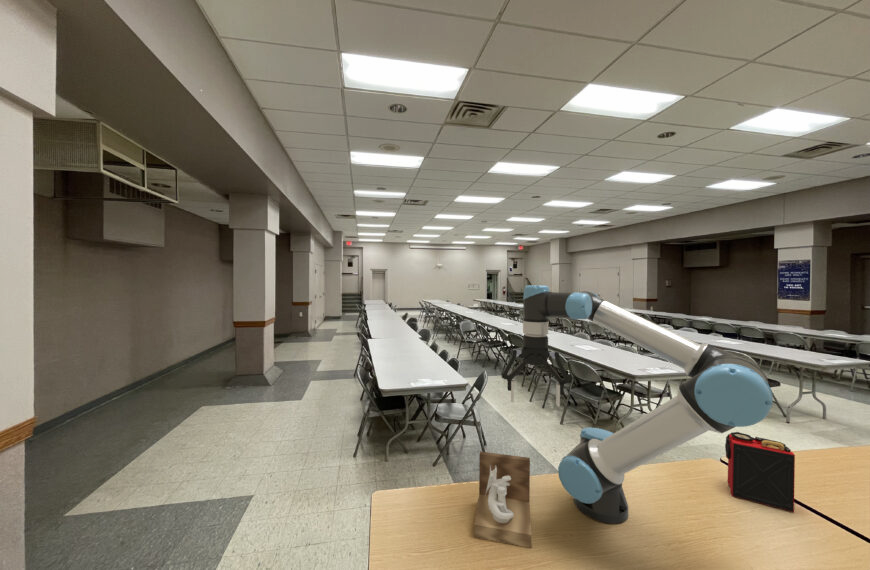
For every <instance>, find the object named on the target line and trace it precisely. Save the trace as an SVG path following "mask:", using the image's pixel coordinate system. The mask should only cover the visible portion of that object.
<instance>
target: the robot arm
mask: <svg viewBox="0 0 870 570" xmlns="http://www.w3.org/2000/svg"><path fill="white" fill-rule="evenodd" d="M523 288H524V289H523V296H522V297H523V298H522V301H523V307H522V308H523V318H522V333H523V334H524V335H522V349H517V348H513V349H512V353H511V357H510V359H509V361H508V362H507V364H506V366H505V367H504V370H503V371H502V373H501V378H502V379H505V380H506V381H507V385H506V387H507V391H508V392H509V391H510V392H511V393H510V403H514V400H515V399H514V396H515V395H514V389H515V388H514V386H515V383H514V382H515V377H516V376H517V374H519V372H520V371H522V370H523V369H524V367H526V366H527V365H528V364H529V365H530V366H539V367H540V366H542V365H543V366H544V367H545V368H546V369H547V370H548V371H549V373H550V374H551V375H552V376H553V377H554V378H555V380H556V381H557V382H556V383H555V385H556V387H555V392H556V393H555V404H556V407H559V408H560V405H561V396H563V395H564V394H565V391H564V390H565V387H564V386H565V385H566V384H570V383H571V380H570V377H569V376H568V373H567V371H566V369H565V368H564V365H563V364H562V361H561V359H560V352H559V351H558V350H554V351H549V336H548V334H549V318H559V319H560V318H561V319H569V320H570V319H571V320H574V321H575V320H589V321H590V322H593V323H595V324H597V325H599V326H601V327H603V328H604V329H606V330H608V331H610V332H611V333H614V334H616V335H618V336H619V337H621V338H623V339H625V340H628V341H629V342H632V343H633V344H636V345H637V346H639V347H641V348H643V349H644V350H646V351H649V353H653V354H654V355H657V356H658V357H660V358H661V359H664V360H666V361H668V362H669V363H672V364H673V365H675V366H677V367H680V368H681V369H683V370H684V372H685V374H686V376H688V377H689V379H687V380H685V381H684V382H682V383H681V384H679V385H677V393H676V394H677V395H676V396H674V397H673V398H671V399H669V400H667V401H665V402H664V403H663V404H661V405H659V406H657V407H656V408H654V409H652V410H651V411H649V412H647V413H646V414H643V415H642V416H641V417H638V419H636V420H634V421H633V422H631V423H629V424H627V425H626V426H624V427H622V428H620V429H619V430H617V431H616V432H612V431H609V430H606V429H603V428H596V427H584V428H582V429H581V430H580V434H579V437H580V441H579V443H577V445H576V446H575V447H574V448H572V450H571V451H570V452H568V453H567V454H566V455H565V456H564V457H562V458H561V461H560V462H559V464H558V466H557V467H558V468H557V469H558V472H557V473H558V479H559V481H560V483H561V485H562V487H563V488H564V490H565V491H566V492H567V493H568V495H570V497H572V498H573V502H574V505H575V507H576V508H577V509H578V510H579V511H580V512H581V513H583V514H584V515H585V516H586V517H589V518H590V519H593V520H595V521H598V522H601V523H606V524H621V523H624V522H625V521H627V520H628V518H629V504H628V500H627V498H626V495H625V491H624V489H623V483H624V481H625V474H626V473H629V472H631V471H632V470H635V469H636V468H638V467H640V466H642V465H645V464H646V463H648V462H651V461H652V460H654V459H656V458H657V457H659V456H662V455H663V454H666V453H667V452H668V453H669V451H672V450H674V449H675V448H677V447H680V446H682V445H683V444H686V443H687V442H689V441H691V440H693V439H695V438H697V437H699V436H701V435H703V434H705V433H706V432H709V431H711V432H713V433H718V434H724V433H726V432H728V431H730V430H732V429H734V428H742V427H743V428H744V427H751V426H754V425H756V424H758V423H760V422H762V421H763V420H764V419H765V418H766V417H767V416H768V415H769V414H770V411H771V409H772V407H773V401H774V398H773V397H774V395H773V392H772V389H771V387H770V384H769V383H770V382H769V380H768V377H767V376H766V374H765V373H764V372H763V370H762V369H761V368H760V367H759V366H757V364H755V363H753V362H752V361H750V360H748V359H746V358H744V357H741V356H739V355H735V354H733V353H731V352H728V351H726V350H724V349H720V348H718V347H716V346H713V345H712V344H709V343H702V344H700V343H698V342H695V341H693V340H691V339H689V338H686V337H685V336H683V335H680V334H678V333H675V332H674V331H672V330H670V329H667V328H665V327H663V326H661V325H659V324H657V323H655V322H653V321H650V320H648V319H646V318H643V317H641V316H640V315H637V314H636V313H633V312H631V311H629V310H626V309H624V308H622V307H620V306H618V305H616V304H614V303H612V302H609V301H607V300H604V299H602V298H600V296H599V295H597V294H596V293H594V292H591V291H589V290H588V291H586V290H584V291H575V292H574V291H570V292H565V291H564V292H563V291H562V292H559V291H558V292H555V291H550V287H549V286H548V285H540V284H539V285H538V284H537V285H534V284H533V285H529V284H527V285H525V286H524V287H523ZM520 355H521V356H522V358H523V359H521V361H520V362H519V363H518V364H517V366H516V367H515V368H514V369H513V370H512V371H511V372H510V370H511V368H512V366H513V364H514V363H515V360H516V359H517V357H519V356H520ZM550 357H551V358H552V359H553V360H554V361H555V362H556V364H557V366H558V368H559V370H560V373H561V374H562V376H563V378H562V377H561V376H560V375H559V374H558V372H557V371H556V370H555V369H554V368H553V367H552V365H551V364H550V363H549V362H548V361H547V360H548V359H549V358H550ZM509 372H510V373H509Z"/></svg>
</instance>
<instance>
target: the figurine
mask: <svg viewBox="0 0 870 570" xmlns="http://www.w3.org/2000/svg"><path fill="white" fill-rule="evenodd" d="M496 473H497V468H496V465H495V469H494V470H493V471H491V467H490V476H489V480H488V485H487V490H488V489H489V488H490V487H491V488H490V490H489V495H488V496H489V497H488V506H489V510H491V513H492V514H493V518H494V520H495V521H497V522H499V523H507V522H509V521H510V519H511V518H513V516H514V514H513V512H512V511H510V510H508V509H507V507H506V501H505V495H506V494H507V492H506V491H507V487H506V486H510V484H509V483H508V482H506V481H509V480H511V477H510V476H508V475H507V476H503V477H502V479H497V480H496ZM487 490H486V492H487ZM497 495H498V501H497ZM485 496H486V495H485Z"/></svg>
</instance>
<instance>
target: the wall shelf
mask: <svg viewBox="0 0 870 570" xmlns="http://www.w3.org/2000/svg"><path fill="white" fill-rule="evenodd" d="M478 464H479V466H478V467H479V468H478V469H479V471H478V472H479V476H478V477H479V478H478V479H479V483H478V485H479V486H478V489H479V490H478V500H477V505H476V512H475V518H474V523H473V538H475V537H476V539H480V538H483V539H482V540H486V539H489V540H488V541H491V540H493V541H492V542H496V541H497V542H498V543H501V542H502V543H503V544H508V545H512V544H513V545H512V546H517V545H518V547H522V548H528V549H532V545H533V544H532V541H533V538H532V535H533V534H532V533H533V532H532V517H531V504H530V501H531V500H530V491H531V489H530V488H531V487H530V485H531V484H530V483H531V482H530V481H531V480H530V478H531V477H530V476H531V475H530V474H531V458H530V457H525V456H520V455H519V456H518V455H512V454H511V455H510V454H509V455H508V454H505V453H504V454H503V453H494V452H487V451H479V463H478ZM495 465H496V468H497V473H496V480H497V479H502V477H503V476H507V475H508V476H510V477H511V480H509V481H506V482H508V483H509V484H510V486H506V487H507V491H506V492H507V494H506V495H505V501H506V507H507V509H508V510H510V511H512V512H513V514H514V516H513V518H511V519H510V521H509V522H507V523H499V522H497V521H495V520H494V518H493V514H492V513H491V510H489V506H488V497H489V496H488V495H489V490H490V488H491V487H490V488H489V489H488V490H487V485H488V480H489V476H490V467H491V471H493V470H494V469H495ZM486 490H487V492H486ZM485 495H486V496H485ZM497 501H498V495H497ZM502 543H501V544H502Z"/></svg>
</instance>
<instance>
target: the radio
mask: <svg viewBox="0 0 870 570" xmlns="http://www.w3.org/2000/svg"><path fill="white" fill-rule="evenodd" d="M724 447H725V448H724V449H725V457H726V458H727V484H728V487H729V489H730V494H731V496H732V497H735V498H738V499H742V500H746V501H749V502H754V503H757V504H761V505H765V506H769V507H774V508H776V509H780V510H784V511H788V512H792V513H795V472H796V471H795V468H796V465H795V463H796V459H795V458H796V455H795V453H794V452H793V451H792V449H790V448H789V447H788V446H787V445H786V444H785V443H783V442H781V441H777V440H771V439H768V438H764V437H758V436H755V437H754V436H751V435H749V434H747V433H742V432H739V431H735V432H733V431H731V432H730V433H728V434H727V435H726V437H725V444H724Z"/></svg>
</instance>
